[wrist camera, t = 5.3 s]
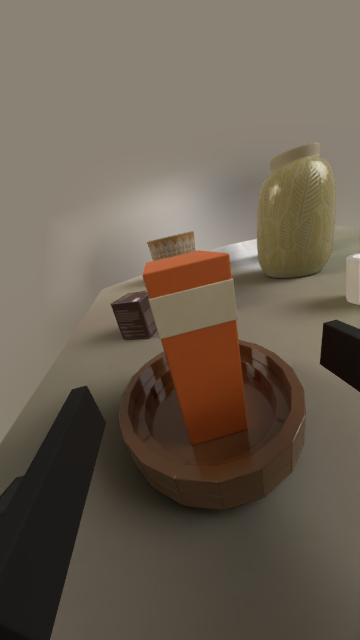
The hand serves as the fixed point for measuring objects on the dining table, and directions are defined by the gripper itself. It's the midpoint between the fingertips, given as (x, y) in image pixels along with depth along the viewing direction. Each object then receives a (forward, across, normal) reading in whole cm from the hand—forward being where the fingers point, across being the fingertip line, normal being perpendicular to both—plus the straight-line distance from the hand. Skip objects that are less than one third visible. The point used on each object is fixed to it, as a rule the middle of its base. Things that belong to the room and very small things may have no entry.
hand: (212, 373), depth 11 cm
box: (+26, -7, -8) cm, 29 cm away
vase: (+42, +35, -8) cm, 55 cm away
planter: (+77, +7, -8) cm, 77 cm away
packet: (+4, 0, -7) cm, 8 cm away
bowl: (+4, 0, -8) cm, 9 cm away
